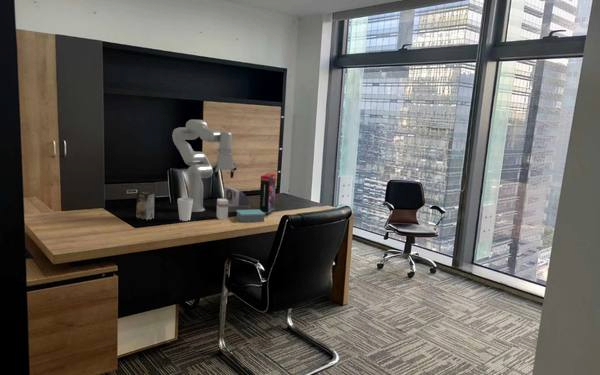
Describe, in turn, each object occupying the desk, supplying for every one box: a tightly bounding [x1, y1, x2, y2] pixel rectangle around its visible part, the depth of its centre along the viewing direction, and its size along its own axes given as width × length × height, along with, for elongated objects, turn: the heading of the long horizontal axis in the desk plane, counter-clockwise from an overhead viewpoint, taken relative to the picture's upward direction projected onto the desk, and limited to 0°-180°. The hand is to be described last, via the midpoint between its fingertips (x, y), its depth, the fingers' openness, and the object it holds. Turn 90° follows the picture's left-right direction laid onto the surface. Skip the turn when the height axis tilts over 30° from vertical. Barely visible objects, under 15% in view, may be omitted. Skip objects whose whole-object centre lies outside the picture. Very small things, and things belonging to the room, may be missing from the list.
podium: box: [236, 209, 266, 223], centre depth 285 cm, size 16×13×5 cm
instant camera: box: [223, 186, 251, 213], centre depth 314 cm, size 21×21×15 cm
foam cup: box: [176, 197, 193, 222], centre depth 273 cm, size 10×9×13 cm
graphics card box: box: [259, 172, 277, 216], centre depth 305 cm, size 17×7×27 cm, turn 168°
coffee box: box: [135, 190, 155, 221], centre depth 270 cm, size 9×6×16 cm
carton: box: [216, 198, 229, 220], centre depth 284 cm, size 6×8×12 cm
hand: (224, 177), depth 281 cm, fingers open, 9 cm apart
